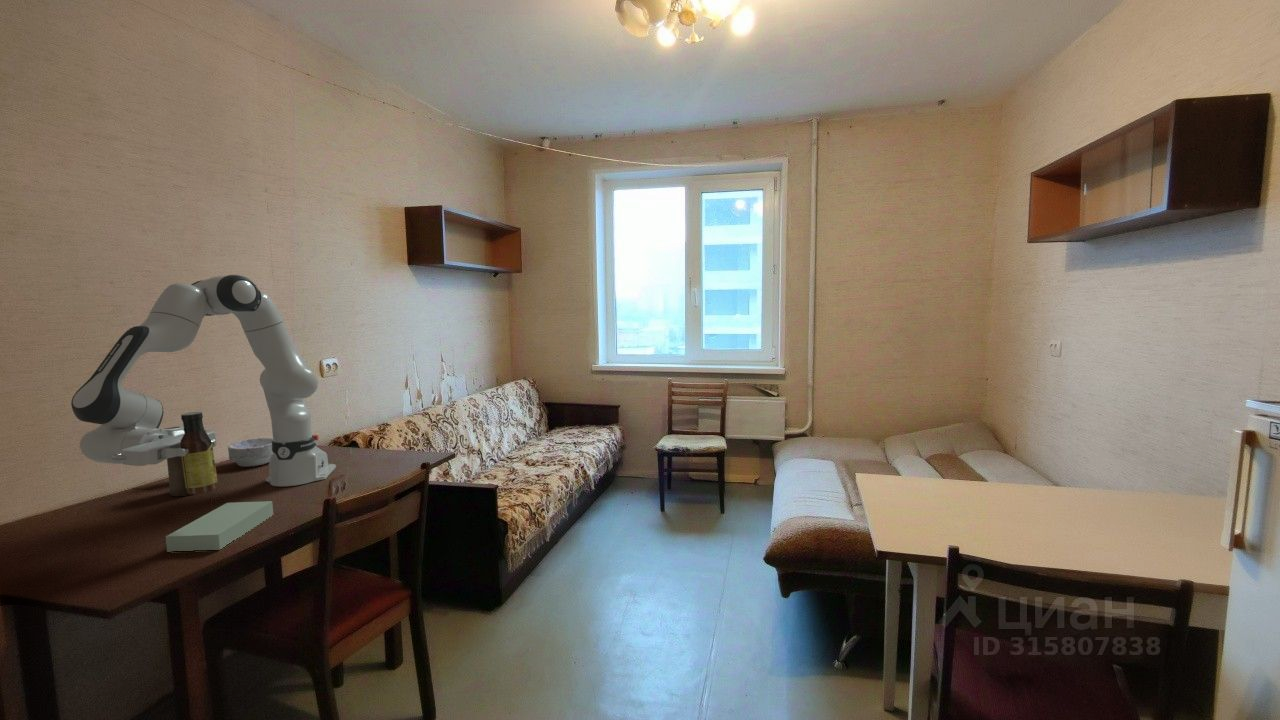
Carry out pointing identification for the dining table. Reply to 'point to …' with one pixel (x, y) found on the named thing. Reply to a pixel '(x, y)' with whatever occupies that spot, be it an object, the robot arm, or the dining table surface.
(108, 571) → the dining table surface
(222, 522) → the pale green rectangular block
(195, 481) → the sauce bottle
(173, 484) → the pillar candle
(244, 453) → the paper bowls
